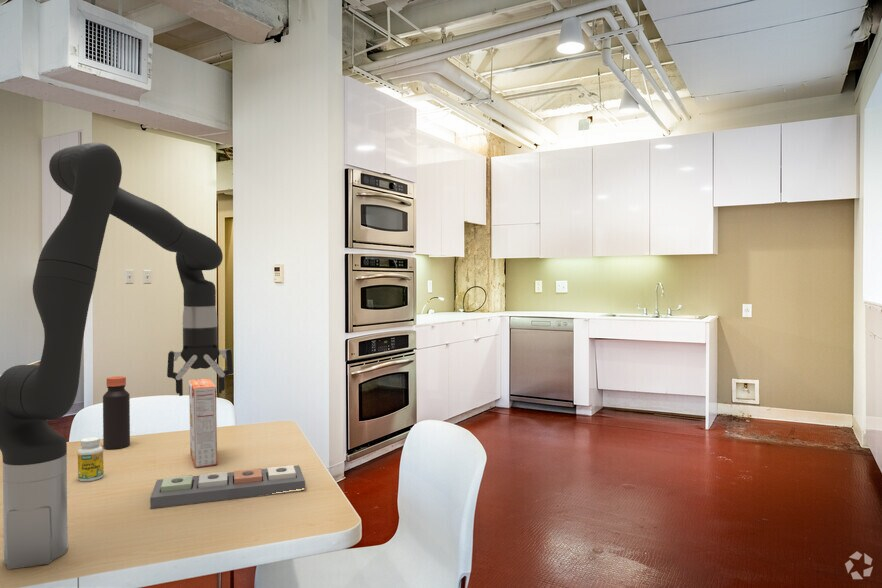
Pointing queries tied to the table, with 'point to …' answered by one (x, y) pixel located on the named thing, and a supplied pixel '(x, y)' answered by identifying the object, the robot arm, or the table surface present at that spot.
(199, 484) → the key white
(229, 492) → the grey flat board
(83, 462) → the supplement bottle
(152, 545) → the table surface
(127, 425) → the vinegar
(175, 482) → the key sage
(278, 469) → the key cream
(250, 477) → the key terracotta
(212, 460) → the cracker box
